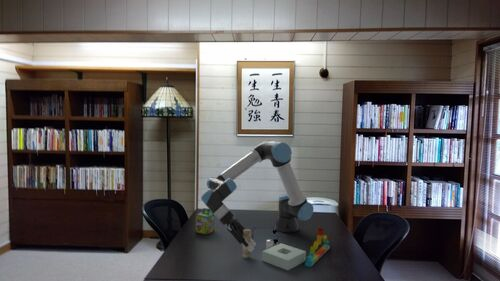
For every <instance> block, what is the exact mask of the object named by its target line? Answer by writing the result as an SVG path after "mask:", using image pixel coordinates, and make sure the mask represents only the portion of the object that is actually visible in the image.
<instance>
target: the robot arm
mask: <svg viewBox="0 0 500 281" xmlns="http://www.w3.org/2000/svg"><path fill="white" fill-rule="evenodd" d="M292 154H293V153H292V148H291V146H290V145H289V144H288V143H286V142H283V141H276V140H265V141H263V142H261V143H259V144H257V145H256V146H254V147H253V148H252V149H250V152H249V153H248V154H246V155H245V156H243V157H242V158H240V159H239V160H238V161H236V162H234V164H232V165H231V166H229V167H228V168H227V169H225V170H224V171H222V172H221V173H219V174H218V175H217V176H215V177H213V176H212V177H210V178H209V179H208V180H207V182H206V186H207V188H208V190H207V191H205V192H204V193H203V194H202V195H201V198H200V199H201V201H202V202H203V204H204V205H205V206H206V207H207V209H210V211H211V213H214V215H215V218H217V219H219V222H220V224H222V225H223V226H224V225H226V226H227V228H226V230H227V231H229V233H230V234H231V235H232V236H233V237H234V239H236V241H237V242H238V243H239V244H242V246H243V245H244V246H245V247H246V248H247V249H248V251H249V252H250V253H251V252H253V251H254V250H255V248H254V247H256V245H257V243H256V242H255V240H253V239H252V238H251V242H250V243H249V242H248V241H247V240H246V239H244V237H243V230H245V229H246V228H245V227H244V226H243V225H242V224H241V222H240V221H239V220H238V219H237V218H235V219H234V217H235V216H234V213H233V212H232V211H231V210H230V209H229V208H228V207H227V205H226V204H224V202H223V201H225V199H227V198H228V197H229V196H230V195H231V194H232V193H234V191H235V190H236V189H237V188H238V187H237V186H238V185H237V184H236V182H235V179H237V178H238V177H239V176H241V175H242V174H243V173H245V172H247V171H248V170H249V169H251V168H252V167H253V166H254V165H256V164H257V163H262V162H263V161H266V160H270V163H271V165H272V167H274V168H276V169H277V172H278V175H279V177H280V180H281V183H282V186H283V187H284V190H285V192H286V194H281V195H279V197H278V208H277V209H278V211H277V212H278V213H277V214H278V216H277V219H276V221H275V226H274V228H275V230H276V231H278V232H281V233H295V232H298V231H299V226H298V221H297V220H299V221H303V222H305V221H308V220H309V219H311V217H312V216H313V213H314V206H313V204H312V203H311V202H310V201H309V202H308V199H307V196H306V195H304V194H302V190H301V188H300V185H299V183H298V180H297V178H296V175H295V173H294V170H293V167H292V165H291V161H292Z"/></svg>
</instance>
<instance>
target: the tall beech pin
mask: <svg viewBox="0 0 500 281" xmlns="http://www.w3.org/2000/svg"><path fill="white" fill-rule="evenodd" d="M251 235H252V231H251V229H247V228H245V230H243V237H244V239H246V240H247V241H248V242H249V243H250V242H251V239H252V237H251ZM242 258H243V259H249V258H251V252H249V251H248V249H247V248H246V247H245V246H244V245H243V244H242Z"/></svg>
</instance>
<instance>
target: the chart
mask: <svg viewBox="0 0 500 281" xmlns="http://www.w3.org/2000/svg"><path fill="white" fill-rule="evenodd" d="M316 234H317V235H316V240H314V242H313V245H312V246H310V248H309V249H310V250H309V253H308V255H307V256H306V257H305V258H306V261H304V266H305V267H308V268H311V267H312V266H313V265H315V263H316V262H317V261H318V260H319V259H321V257H323V255H324V254H326V252H327V251H329V249H330V248H331V247H330V244H329V243H330V240H328V236H327V235H325V234H324V228H321V227H318V228H317V232H316ZM322 242H323V245H322ZM321 245H322V246H321ZM319 246H321V247H320V248H319ZM318 248H319V249H318ZM316 250H317V251H316Z"/></svg>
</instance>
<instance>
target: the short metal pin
mask: <svg viewBox="0 0 500 281" xmlns="http://www.w3.org/2000/svg"><path fill="white" fill-rule="evenodd" d="M265 240H266V242H265V243H266V244H265V250H266V249H269V248H271V247H273V246H274V240H273V239H271V238H267V239H265Z"/></svg>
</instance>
